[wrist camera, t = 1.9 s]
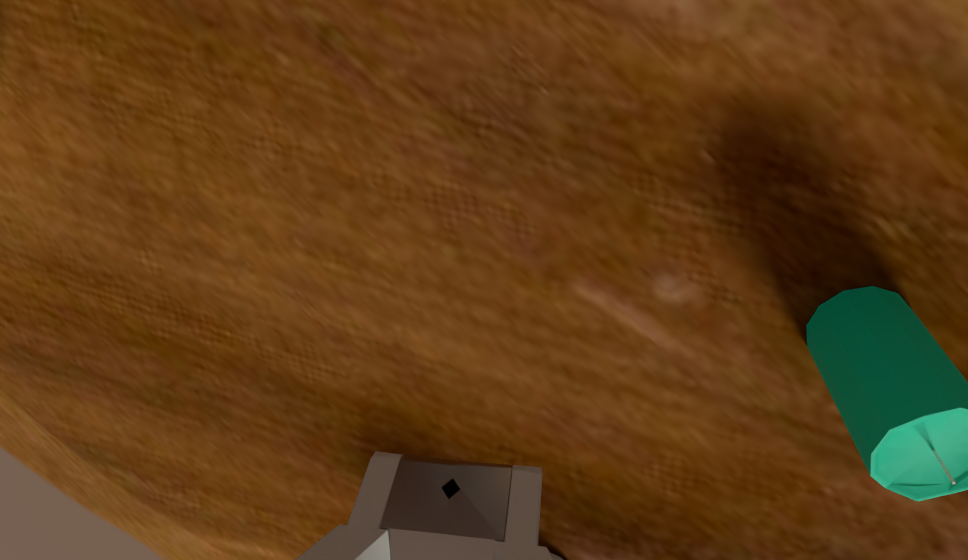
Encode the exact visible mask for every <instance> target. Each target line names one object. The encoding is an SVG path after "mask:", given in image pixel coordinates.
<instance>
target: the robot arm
mask: <svg viewBox="0 0 968 560" xmlns="http://www.w3.org/2000/svg"><path fill="white" fill-rule="evenodd" d="M541 483H542V469H541V468H539V467H528V466H517V465H508V464H496V463H485V462H473V461H462V460H458V461H455V460H447V459H439V458H431V457H423V456H415V455H406V454H394V453H386V452H378V451H376V452H375V453H374V455H373V456H372V457H371V459H370V462H369V465H368V468H367V471H366V473H365V476H364V479H363V482H362V485H361V488H360V490H359V493H358V496H357V499H356V502H355V505H354V507H353V510H352V513H351V516H350V519H349V522H348V524H347V525H338V526H337V527H335V528H334V529H333V530H332V531H330V532H329V533H328V534H327V535H325V536H324V537H323V538H322V539H320V540H319V541H318V542H317V543H316V544H314V545H313V546H312V547H311V548H309V549H308V550H307V551H306V552H304V553H303V554H302V555H301V556H299V557H298V558H297V559H296V560H554V558H553V557H552V555H551V554H550V552H549V550H548V549H547V547H542V546H538V534H539V517H540V500H541Z"/></svg>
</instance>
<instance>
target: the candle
mask: <svg viewBox="0 0 968 560" xmlns="http://www.w3.org/2000/svg"><path fill="white" fill-rule="evenodd" d="M806 332H807V347H808V349H809V351H810V353H811V355H812V357H813V359H814V361H815V363H816V365H817V367H818V369H819V371H820V373H821V376H822V378H823V380H824V382H825V384H826V386H827V388H828V390H829V392H830V394H831V396H832V398H833V400H834V402H835V404H836V406H837V408H838V410H839V412H840V414H841V416H842V419H843V421H844V423H845V425H846V427H847V429H848V431H849V433H850V435H851V437H852V439H853V441H854V443H855V445H856V447H857V449H858V451H859V453H860V455H861V457H862V459H863V461H864V464H865V466H866V468H867V470H868V472H869V474H870V476H871V477H873V478H874V479H875V480H876V481H877V482H878V483H880V484H881V485H882V486H883V487H884V488H886V489H889V490H891V491H893V492H896V493H898V494H901V495H903V496H906V497H908V498H910V499H913V500H915V501H921V500H926V499H930V498H935V497H939V496H944V495H948V494H952V493H956V492H960V491H965V490H968V382H967V381H966V380H965V378H964V377H963V376H962V374H961V373H960V372H959V370H958V369H957V368H956V366H955V365H954V364H953V363H952V361H951V360H950V359H949V357H948V356H947V355H946V353H945V352H944V351H943V350H942V348H941V347H940V346H939V344H938V343H937V342H936V340H935V339H934V338H933V336H932V335H931V334H930V333H929V331H928V330H927V329H926V327H925V326H924V325H923V323H922V322H921V321H920V320H919V318H918V317H917V316H916V314H915V313H914V312H913V310H912V309H911V308H910V307H909V306H908V304H907V303H906V302H905V301H904V300H903V298H902V297H901V296H900V295H899V294H898V293H896V292H892V291H889V290H885V289H882V288H878V287H875V286H870V287H863V288H857V289H851V290H844V291H842V292H841V293H839V294H837V295H836V296H834V297H832V298H831V299H829V300H827V301H826V302H824V303H822V304H821V305H819V307H818V308H817V310H816V311H815V313H814V314H813V316H812V318H811V319H810V321H809V322H808V324H807V325H806Z"/></svg>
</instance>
